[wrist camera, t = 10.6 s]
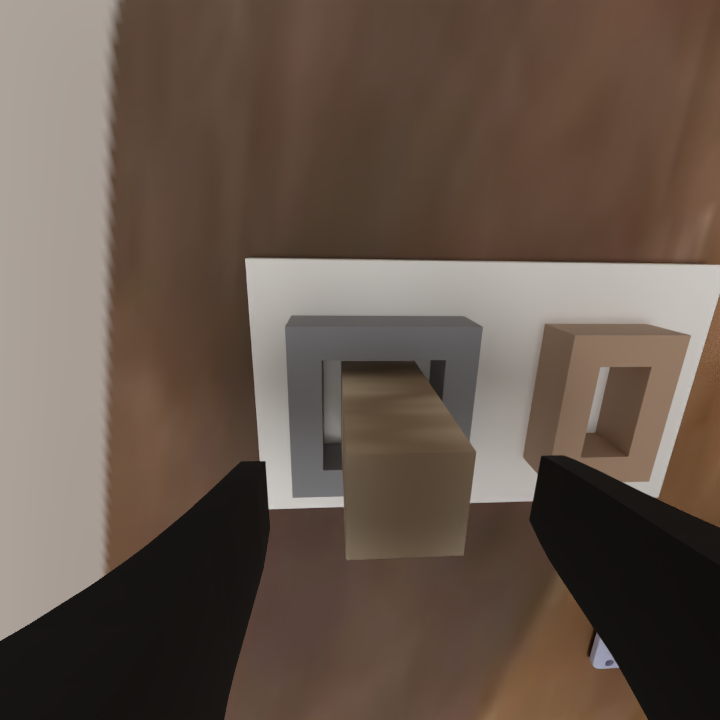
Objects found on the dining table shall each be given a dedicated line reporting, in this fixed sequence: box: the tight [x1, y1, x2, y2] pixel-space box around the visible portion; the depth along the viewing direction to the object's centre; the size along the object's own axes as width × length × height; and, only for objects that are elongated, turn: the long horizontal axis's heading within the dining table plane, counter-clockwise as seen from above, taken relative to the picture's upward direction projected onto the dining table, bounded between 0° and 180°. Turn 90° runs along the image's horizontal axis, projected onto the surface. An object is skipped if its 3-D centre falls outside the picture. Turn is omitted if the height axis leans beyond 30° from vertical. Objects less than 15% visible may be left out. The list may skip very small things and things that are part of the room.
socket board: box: [245, 258, 720, 509], centre depth 15 cm, size 19×11×3 cm, turn 89°
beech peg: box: [341, 361, 476, 560], centre depth 12 cm, size 3×3×7 cm
